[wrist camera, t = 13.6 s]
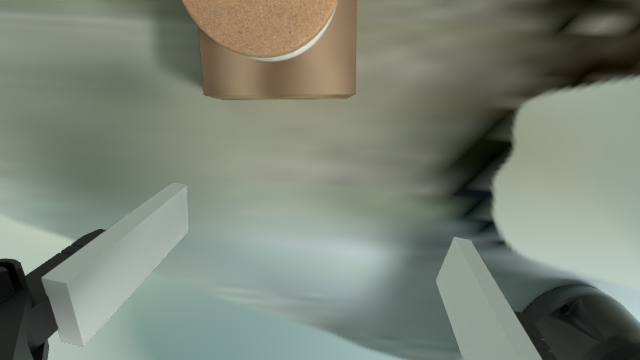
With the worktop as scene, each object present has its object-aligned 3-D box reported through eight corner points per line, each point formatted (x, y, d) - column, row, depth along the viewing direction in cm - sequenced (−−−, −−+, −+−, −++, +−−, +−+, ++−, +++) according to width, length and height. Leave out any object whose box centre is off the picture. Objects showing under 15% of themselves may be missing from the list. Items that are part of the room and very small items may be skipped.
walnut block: (346, -36, 32) (357, -79, 25) (345, 99, 34) (355, 93, 28) (214, -38, 31) (188, -82, 24) (224, 100, 34) (203, 95, 27)
